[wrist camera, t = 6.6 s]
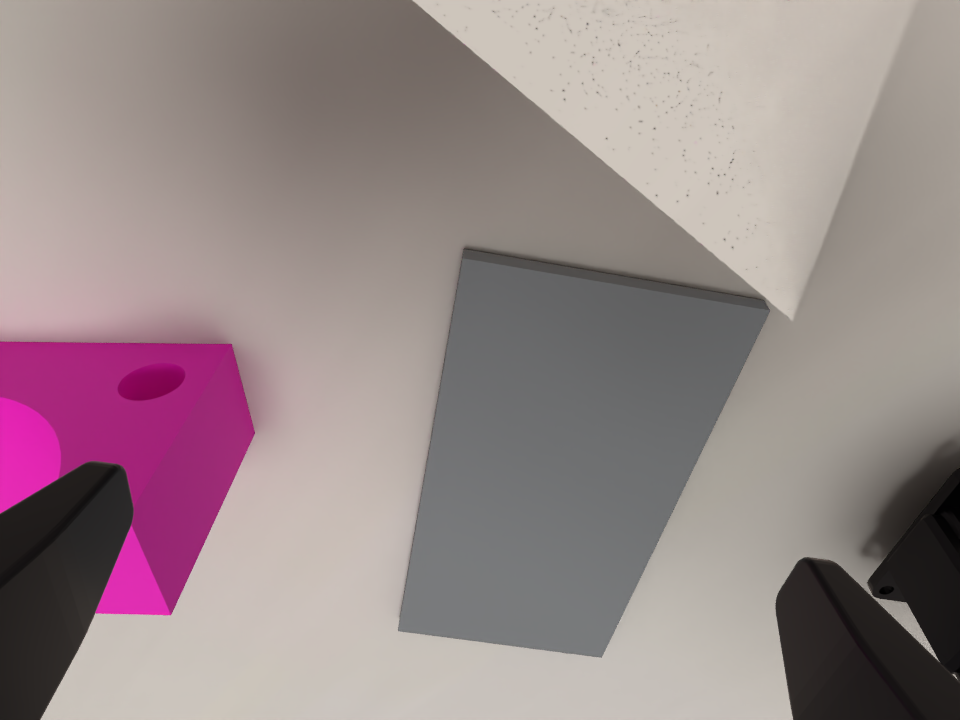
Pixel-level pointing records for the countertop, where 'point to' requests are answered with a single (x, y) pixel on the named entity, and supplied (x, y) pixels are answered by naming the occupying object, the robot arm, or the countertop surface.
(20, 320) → the countertop surface
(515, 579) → the mat
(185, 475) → the magenta arched bracket
